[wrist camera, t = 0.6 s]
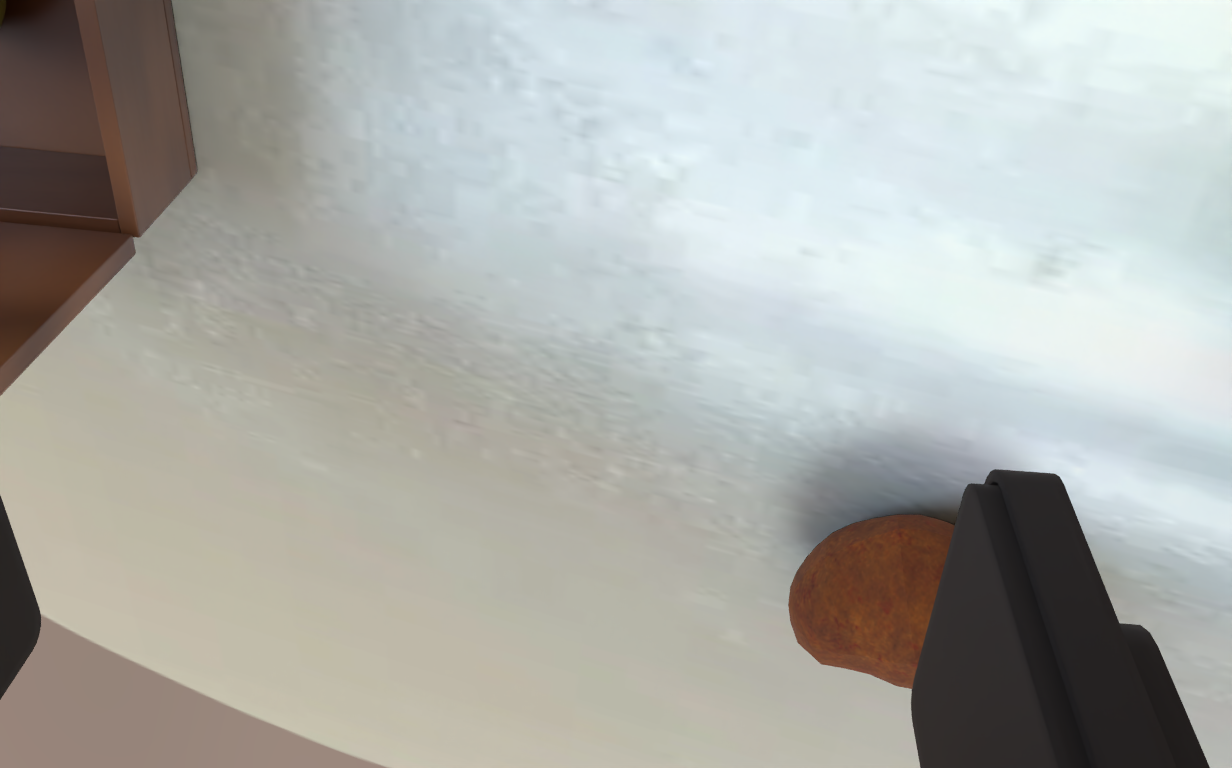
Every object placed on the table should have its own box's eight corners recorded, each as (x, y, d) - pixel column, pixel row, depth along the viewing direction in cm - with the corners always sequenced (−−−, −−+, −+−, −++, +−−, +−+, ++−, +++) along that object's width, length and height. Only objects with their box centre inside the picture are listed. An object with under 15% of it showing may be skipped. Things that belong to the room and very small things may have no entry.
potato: (769, 497, 54) (776, 613, 48) (1005, 462, 52) (1043, 580, 46) (799, 621, 59) (808, 742, 52) (1017, 594, 56) (1053, 717, 50)
